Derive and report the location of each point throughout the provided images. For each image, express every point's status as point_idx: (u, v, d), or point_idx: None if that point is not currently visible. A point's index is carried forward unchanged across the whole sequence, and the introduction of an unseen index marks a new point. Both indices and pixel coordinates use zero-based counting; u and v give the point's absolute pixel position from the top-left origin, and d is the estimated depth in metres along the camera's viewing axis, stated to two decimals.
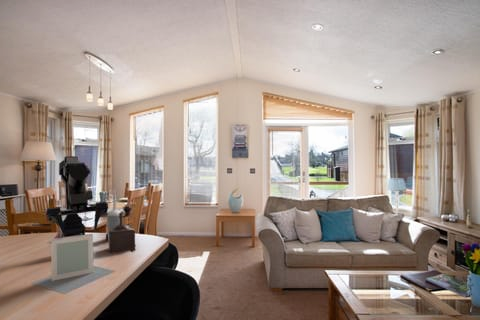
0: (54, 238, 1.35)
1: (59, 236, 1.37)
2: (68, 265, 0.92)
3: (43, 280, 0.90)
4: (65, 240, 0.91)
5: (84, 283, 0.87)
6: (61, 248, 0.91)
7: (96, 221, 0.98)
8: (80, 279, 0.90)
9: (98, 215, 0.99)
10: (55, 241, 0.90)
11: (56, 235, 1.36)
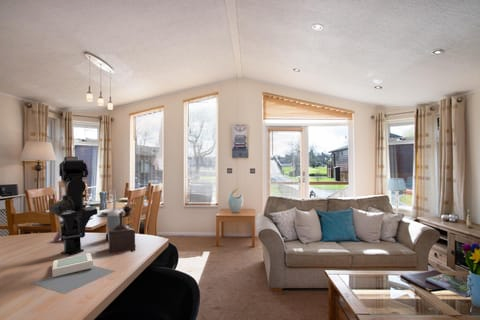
0: (54, 238, 1.34)
1: (59, 236, 1.37)
2: (68, 263, 0.98)
3: (43, 280, 0.90)
4: (66, 258, 1.04)
5: (84, 283, 0.87)
6: (62, 260, 1.02)
7: (78, 226, 1.03)
8: (80, 279, 0.90)
9: (79, 221, 1.03)
10: (57, 260, 1.03)
11: (56, 235, 1.36)
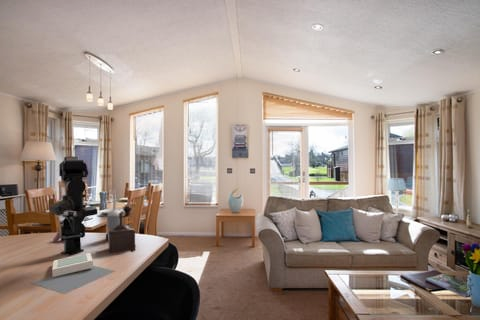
0: None
1: (58, 236, 1.36)
2: (68, 263, 0.98)
3: (43, 280, 0.90)
4: (66, 258, 1.04)
5: (84, 283, 0.87)
6: (62, 260, 1.02)
7: (73, 225, 1.05)
8: (80, 279, 0.90)
9: (73, 220, 1.04)
10: (57, 260, 1.03)
11: None
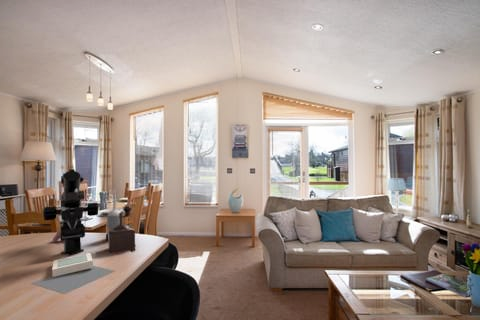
0: (53, 238, 1.34)
1: (58, 236, 1.36)
2: (68, 263, 0.98)
3: (43, 280, 0.90)
4: (66, 258, 1.04)
5: (84, 283, 0.87)
6: (62, 260, 1.02)
7: (74, 220, 1.07)
8: (80, 279, 0.90)
9: (76, 214, 1.09)
10: (57, 260, 1.03)
11: (55, 235, 1.35)
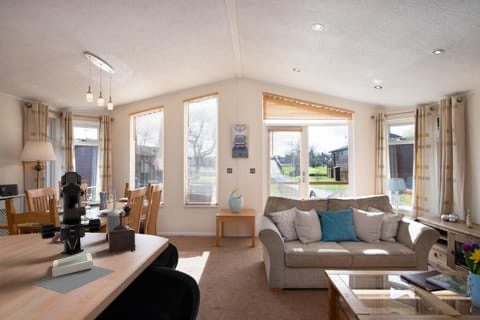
0: (52, 239, 1.33)
1: (57, 237, 1.36)
2: (68, 263, 0.98)
3: (43, 280, 0.90)
4: (66, 258, 1.04)
5: (84, 283, 0.87)
6: (62, 260, 1.02)
7: (75, 238, 0.99)
8: (80, 279, 0.90)
9: (77, 232, 1.00)
10: (57, 260, 1.03)
11: (54, 236, 1.35)
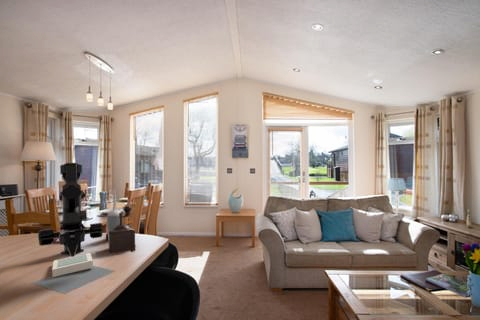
0: None
1: None
2: (68, 263, 0.98)
3: (43, 280, 0.90)
4: (66, 258, 1.04)
5: (84, 283, 0.87)
6: (62, 260, 1.02)
7: (75, 245, 0.92)
8: (80, 279, 0.90)
9: (77, 238, 0.93)
10: (57, 260, 1.03)
11: None
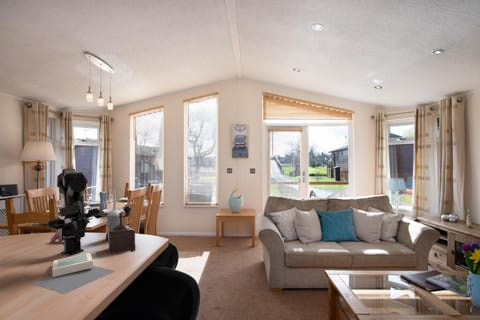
0: (51, 239, 1.32)
1: (56, 237, 1.35)
2: (68, 263, 0.98)
3: (43, 280, 0.90)
4: (66, 258, 1.04)
5: (84, 283, 0.87)
6: (62, 260, 1.02)
7: (78, 231, 1.04)
8: (80, 279, 0.90)
9: (79, 225, 1.04)
10: (57, 260, 1.03)
11: (53, 236, 1.34)
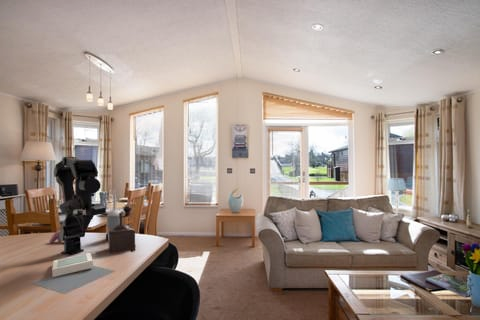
0: (50, 240, 1.32)
1: (55, 238, 1.34)
2: (68, 263, 0.98)
3: (43, 280, 0.90)
4: (66, 258, 1.04)
5: (84, 283, 0.87)
6: (62, 260, 1.02)
7: (82, 223, 1.07)
8: (80, 279, 0.90)
9: (82, 219, 1.06)
10: (57, 260, 1.03)
11: (52, 237, 1.33)
